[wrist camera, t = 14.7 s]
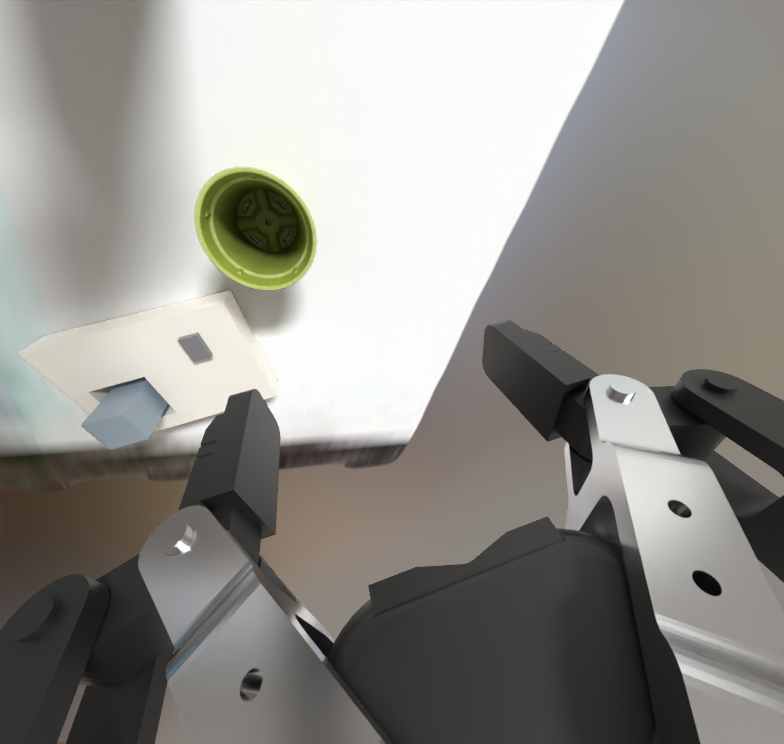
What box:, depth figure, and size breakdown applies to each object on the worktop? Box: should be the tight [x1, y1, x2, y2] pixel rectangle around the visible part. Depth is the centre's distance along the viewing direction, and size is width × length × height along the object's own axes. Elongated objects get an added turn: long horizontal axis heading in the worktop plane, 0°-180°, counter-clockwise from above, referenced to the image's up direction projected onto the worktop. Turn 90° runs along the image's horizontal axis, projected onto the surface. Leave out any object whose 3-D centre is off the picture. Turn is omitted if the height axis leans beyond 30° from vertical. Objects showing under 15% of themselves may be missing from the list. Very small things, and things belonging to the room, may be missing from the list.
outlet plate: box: [17, 290, 278, 433], centre depth 35 cm, size 14×20×5 cm
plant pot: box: [195, 167, 317, 290], centre depth 27 cm, size 9×9×9 cm
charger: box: [81, 377, 168, 450], centre depth 34 cm, size 4×4×9 cm
